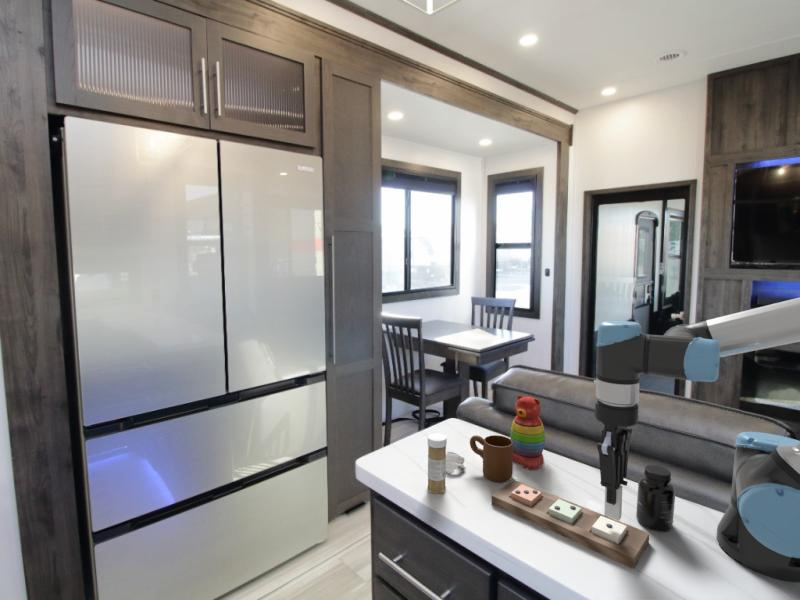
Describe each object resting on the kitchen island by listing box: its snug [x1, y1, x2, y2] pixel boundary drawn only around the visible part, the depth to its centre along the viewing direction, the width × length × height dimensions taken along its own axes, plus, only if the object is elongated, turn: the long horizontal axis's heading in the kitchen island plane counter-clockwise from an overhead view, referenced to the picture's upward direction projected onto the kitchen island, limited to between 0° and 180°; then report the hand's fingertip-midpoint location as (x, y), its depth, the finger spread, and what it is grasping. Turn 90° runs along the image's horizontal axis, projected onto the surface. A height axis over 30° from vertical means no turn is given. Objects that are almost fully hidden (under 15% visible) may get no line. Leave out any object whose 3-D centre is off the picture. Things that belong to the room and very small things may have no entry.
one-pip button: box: [592, 516, 627, 545], centre depth 87 cm, size 5×5×3 cm
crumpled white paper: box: [446, 450, 467, 474], centre depth 117 cm, size 8×7×5 cm
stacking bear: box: [509, 394, 546, 471], centre depth 121 cm, size 11×10×18 cm
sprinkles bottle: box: [427, 433, 448, 495], centre depth 106 cm, size 5×5×14 cm
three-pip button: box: [511, 484, 542, 507], centre depth 100 cm, size 5×5×3 cm
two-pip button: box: [549, 499, 581, 525], centre depth 93 cm, size 5×5×3 cm
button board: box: [491, 478, 650, 569], centre depth 93 cm, size 30×10×2 cm, turn 46°
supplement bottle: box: [635, 464, 676, 533], centre depth 93 cm, size 7×7×12 cm
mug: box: [469, 434, 514, 483], centre depth 114 cm, size 12×8×9 cm, turn 51°
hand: (612, 516), depth 87 cm, fingers closed
